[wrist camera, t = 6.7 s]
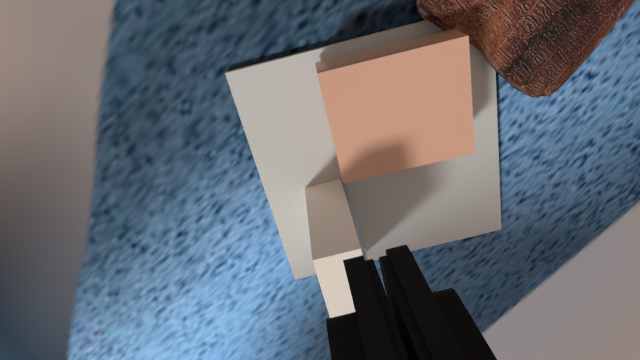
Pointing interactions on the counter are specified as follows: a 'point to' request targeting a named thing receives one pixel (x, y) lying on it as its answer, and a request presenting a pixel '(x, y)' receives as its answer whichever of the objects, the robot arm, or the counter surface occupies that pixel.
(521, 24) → the wooden tablet
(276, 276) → the counter surface
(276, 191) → the grey mat
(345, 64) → the salmon pink block
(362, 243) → the cream block
